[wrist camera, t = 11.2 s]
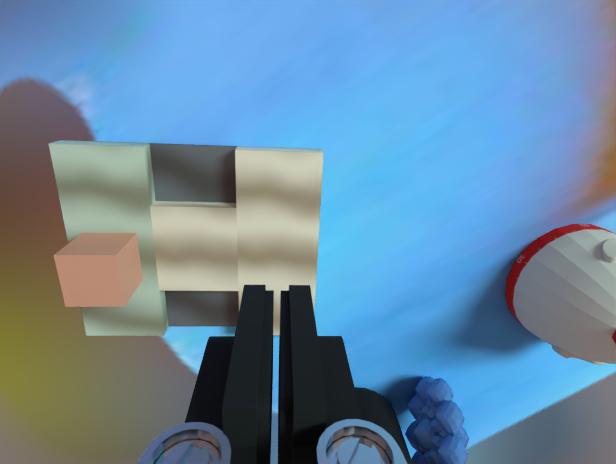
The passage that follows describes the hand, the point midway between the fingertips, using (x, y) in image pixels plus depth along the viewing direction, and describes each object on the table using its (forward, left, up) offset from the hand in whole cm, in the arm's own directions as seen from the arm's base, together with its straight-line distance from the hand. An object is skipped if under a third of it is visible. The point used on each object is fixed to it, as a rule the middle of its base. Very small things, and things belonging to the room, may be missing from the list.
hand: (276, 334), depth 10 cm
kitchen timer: (+14, +33, -29) cm, 46 cm away
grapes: (+31, +19, -29) cm, 47 cm away
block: (+11, -16, -27) cm, 33 cm away
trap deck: (+10, -8, -29) cm, 32 cm away
